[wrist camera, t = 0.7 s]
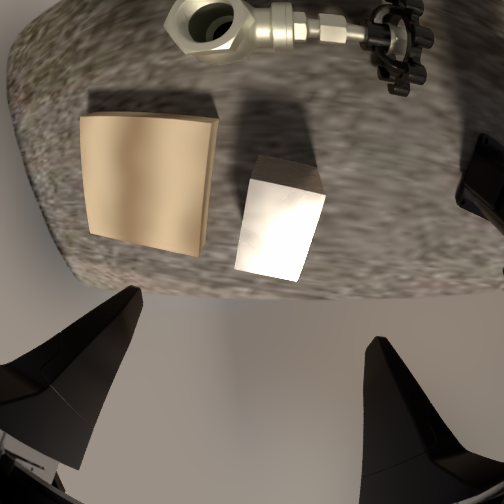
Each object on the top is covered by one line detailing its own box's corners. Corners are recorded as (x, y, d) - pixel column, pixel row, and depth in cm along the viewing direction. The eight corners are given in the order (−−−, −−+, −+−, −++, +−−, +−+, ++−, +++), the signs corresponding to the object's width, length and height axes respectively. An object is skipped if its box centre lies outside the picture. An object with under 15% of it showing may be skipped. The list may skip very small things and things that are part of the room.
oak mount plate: (219, 118, 17) (211, 123, 15) (205, 242, 22) (198, 257, 21) (95, 111, 17) (80, 116, 15) (101, 221, 22) (90, 233, 21)
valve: (203, 86, 16) (386, 93, 14) (162, 92, 10) (433, 103, 9) (199, 0, 12) (385, 6, 10) (158, -30, 6) (428, -19, 5)
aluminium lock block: (316, 166, 18) (325, 195, 14) (295, 238, 21) (297, 281, 17) (259, 153, 18) (250, 178, 14) (245, 228, 21) (234, 268, 17)
